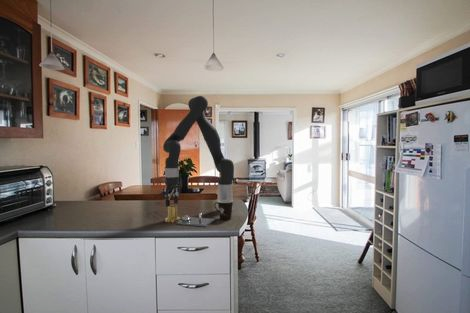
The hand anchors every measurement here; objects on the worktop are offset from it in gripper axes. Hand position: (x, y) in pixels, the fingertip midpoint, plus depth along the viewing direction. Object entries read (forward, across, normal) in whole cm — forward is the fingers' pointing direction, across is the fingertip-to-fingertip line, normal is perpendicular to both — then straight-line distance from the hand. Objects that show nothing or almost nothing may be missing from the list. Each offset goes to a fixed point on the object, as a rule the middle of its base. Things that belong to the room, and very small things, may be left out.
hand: (171, 204), depth 155 cm
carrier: (+9, 0, +15) cm, 17 cm away
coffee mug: (+9, -13, +26) cm, 31 cm away
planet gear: (+9, 0, 0) cm, 9 cm away
